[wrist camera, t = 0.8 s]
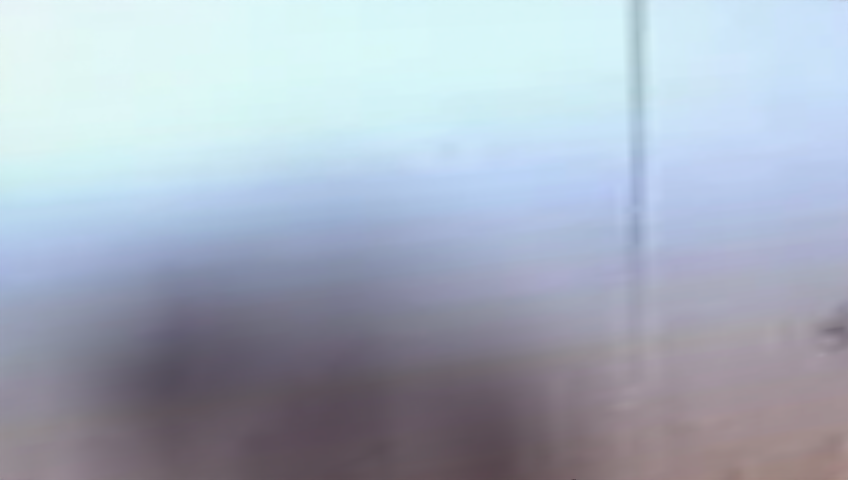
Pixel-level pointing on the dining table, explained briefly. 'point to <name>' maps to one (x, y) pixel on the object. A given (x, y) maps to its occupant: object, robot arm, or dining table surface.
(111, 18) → the dining table surface
